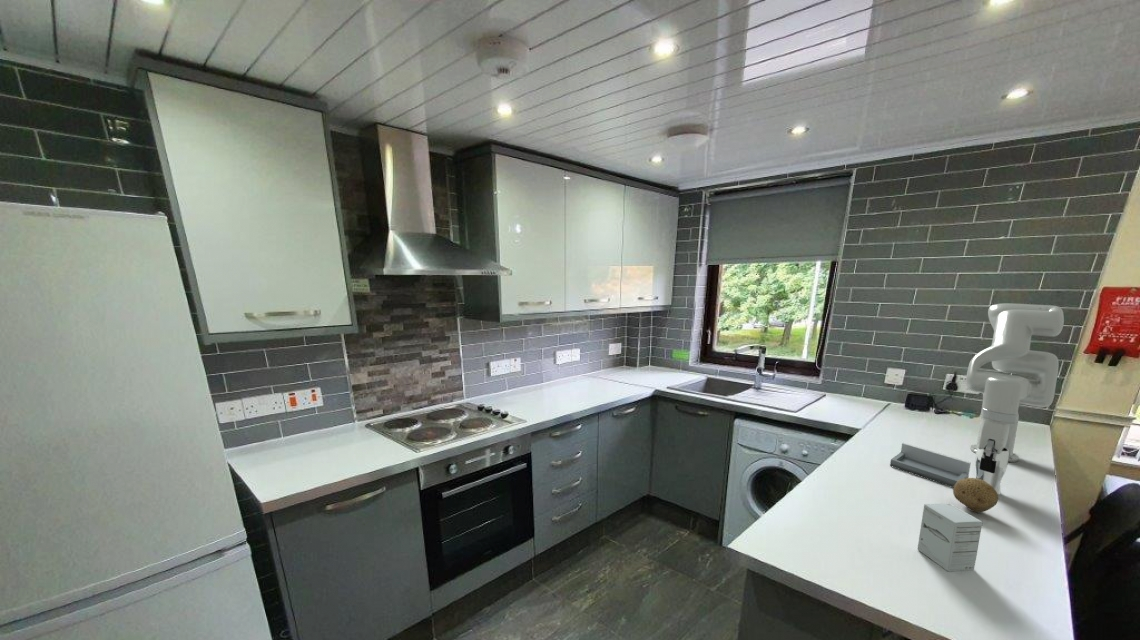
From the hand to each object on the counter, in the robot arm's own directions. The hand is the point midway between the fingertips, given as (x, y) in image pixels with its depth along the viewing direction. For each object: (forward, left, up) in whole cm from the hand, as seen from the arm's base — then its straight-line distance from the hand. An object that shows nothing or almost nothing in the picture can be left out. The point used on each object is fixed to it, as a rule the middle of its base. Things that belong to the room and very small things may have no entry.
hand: (990, 467), depth 121 cm
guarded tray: (0, -14, -8) cm, 16 cm away
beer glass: (-1, 0, -8) cm, 8 cm away
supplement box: (+53, +1, -8) cm, 54 cm away
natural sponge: (+19, 0, -8) cm, 21 cm away
